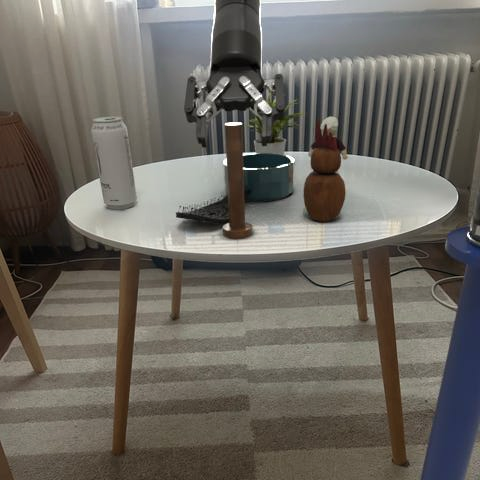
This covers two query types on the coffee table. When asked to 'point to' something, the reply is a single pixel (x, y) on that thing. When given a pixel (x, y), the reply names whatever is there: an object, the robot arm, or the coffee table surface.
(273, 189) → the bowl
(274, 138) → the house plant
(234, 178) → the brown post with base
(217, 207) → the hairbrush
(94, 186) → the coffee table surface
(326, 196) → the wooden figurine
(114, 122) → the energy drink can
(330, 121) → the grandmother figurine
